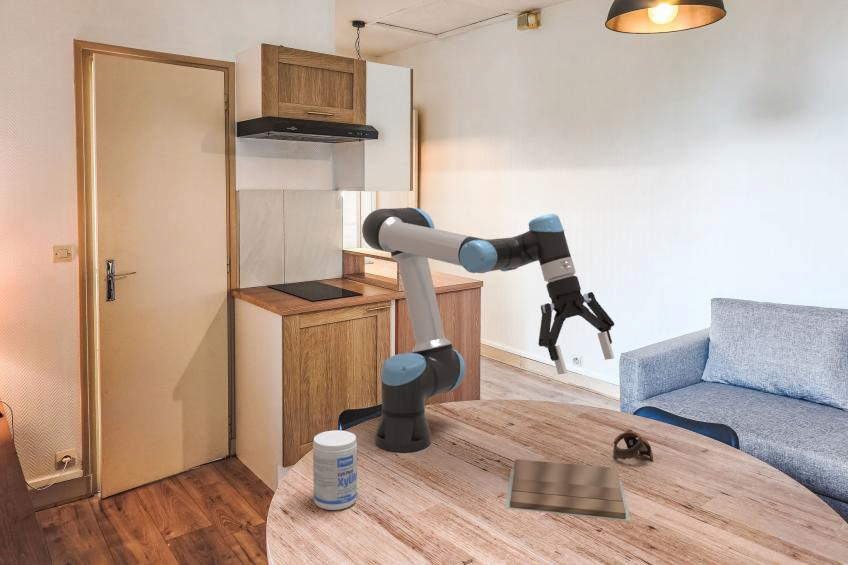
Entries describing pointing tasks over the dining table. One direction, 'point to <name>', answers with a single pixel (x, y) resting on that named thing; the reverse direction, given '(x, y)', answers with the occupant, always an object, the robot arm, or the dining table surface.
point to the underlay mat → (565, 512)
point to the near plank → (567, 490)
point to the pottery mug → (632, 446)
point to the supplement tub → (335, 469)
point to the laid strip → (568, 504)
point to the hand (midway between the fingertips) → (586, 366)
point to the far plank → (567, 473)
